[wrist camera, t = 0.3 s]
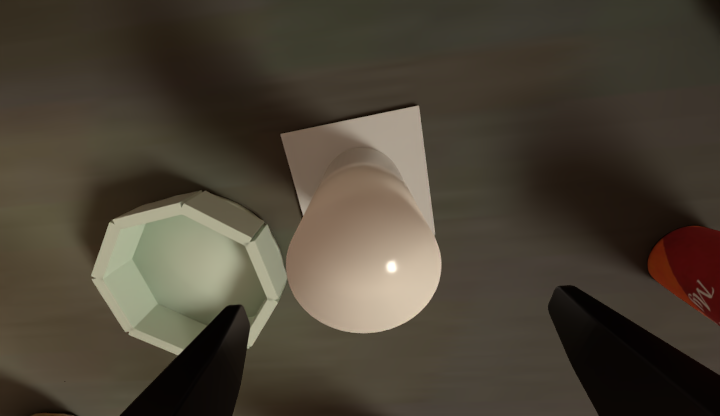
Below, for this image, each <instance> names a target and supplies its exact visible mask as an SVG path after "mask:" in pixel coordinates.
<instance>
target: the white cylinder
mask: <svg viewBox="0 0 720 416" xmlns="http://www.w3.org/2000/svg"><path fill="white" fill-rule="evenodd" d="M286 273H287V279H288V282H289V286H290V288H291V290H292V292H293V295H294V296H295V298H296V299H297V301H298V302H299V304H300V305H301V306H302V307H303V308H304V309H305V310H306V311H307V312H308V313H309V314H310V315H311V316H313V317H314V318H315V319H317V320H318V321H320V322H322V323H324V324H326V325H328V326H330V327H333V328H335V329H339V330H342V331H347V332H353V333H374V332H381V331H385V330H388V329H392V328H394V327H397V326H399V325H401V324H403V323H405V322H407V321H408V320H410V319H411V318H413V317H414V316H416V315H417V314H418V313H419V312H420V311H421V310H422V309H423V308H424V307H425V306H426V305H427V304H428V302H429V301H430V299H431V298H432V296H433V295H434V293H435V291H436V289H437V286H438V283H439V280H440V274H441V255H440V251H439V247H438V244H437V242H436V239H435V237H434V235H433V233H432V231H431V230H430V228H429V226H428V224H427V222H426V220H425V218H424V217H423V215H422V213H421V211H420V209H419V207H418V205H417V204H416V202H415V200H414V198H413V196H412V194H411V193H410V191H409V189H408V187H407V185H406V183H405V181H404V180H403V178H402V176H401V174H400V172H399V170H398V168H397V167H396V165H395V164H394V162H393V161H392V160H391V159H390V158H389V157H388V156H386V155H385V154H384V153H382V152H380V151H378V150H375V149H371V148H365V147H360V148H353V149H349V150H347V151H344V152H342V153H341V154H339V155H338V156H337V157H336V158H334V159H333V160H332V162H331V163H330V164H329V166H328V167H327V169H326V171H325V173H324V175H323V177H322V179H321V181H320V183H319V185H318V187H317V190H316V192H315V194H314V196H313V198H312V200H311V202H310V204H309V206H308V208H307V210H306V212H305V214H304V216H303V218H302V220H301V222H300V224H299V226H298V228H297V230H296V232H295V234H294V236H293V238H292V240H291V242H290V245H289V248H288V252H287V258H286Z"/></svg>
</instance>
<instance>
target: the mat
mask: <svg viewBox="0 0 720 416" xmlns="http://www.w3.org/2000/svg"><path fill="white" fill-rule="evenodd" d="M280 135H281V139H282V142H283V146H284V149H285V153H286V156H287V160H288V164H289V167H290V171H291V174H292V178H293V181H294V185H295V188H296V192H297V196H298V199H299V203H300V206H301V210H302V213H303V216H304V214H305V212H306V210H307V208H308V206H309V204H310V202H311V200H312V198H313V196H314V194H315V192H316V190H317V187H318V185H319V183H320V181H321V179H322V177H323V175H324V173H325V171H326V169H327V167H328V166H329V164H330V163H331V162H332V160H333V159H334V158H336V157H337V156H338V155H339V154H341V153H342V152H344V151H347V150H349V149H353V148H360V147H365V148H371V149H375V150H378V151H380V152H382V153H384V154H385V155H386V156H388V157H389V158H390V159H391V160H392V161H393V162H394V164H395V165H396V167H397V168H398V170H399V172H400V174H401V176H402V178H403V180H404V181H405V183H406V185H407V187H408V189H409V191H410V193H411V194H412V196H413V198H414V200H415V202H416V204H417V205H418V207H419V209H420V211H421V213H422V215H423V217H424V218H425V220H426V222H427V224H428V226H429V228H430V230H431V231H432V233H433V235H435V229H434V221H433V213H432V206H431V198H430V190H429V182H428V174H427V166H426V158H425V150H424V142H423V134H422V127H421V119H420V111H419V106H413V107H408V108H404V109H399V110H394V111H389V112H384V113H379V114H375V115H370V116H365V117H360V118H355V119H350V120H346V121H341V122H336V123H331V124H326V125H321V126H317V127H312V128H307V129H302V130H297V131H293V132H288V133H283V134H280Z"/></svg>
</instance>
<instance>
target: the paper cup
mask: <svg viewBox="0 0 720 416" xmlns="http://www.w3.org/2000/svg"><path fill="white" fill-rule="evenodd" d="M647 267H648V271H649V273H650V275H651V276H652V277H653V278H654V279H655V280H656V281H657V282H658V283H660V284H661V285H662V286H664V287H665V288H666V289H668V290H669V291H671V292H672V293H673V294H675V295H676V296H678V297H679V298H680V299H682V300H683V301H685V302H686V303H688V304H689V305H690V306H692V307H693V308H695V309H696V310H698V311H699V312H700V313H702V314H703V315H705V316H706V317H708V318H709V319H710V320H712V321H713V322H715V323H716V324H718V325H719V326H720V231H717V230H713V229H709V228H706V227H701V226H686V227H682V228H679V229H676V230H674V231H672V232H670V233H668V234H667V235H665V236H664V237H663V238H662V239H660V240H659V241H658V242H657V243H656V245H655V246H654V247H653V249H652V250H651V252H650V254H649V257H648V262H647Z"/></svg>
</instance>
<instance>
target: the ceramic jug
mask: <svg viewBox="0 0 720 416" xmlns="http://www.w3.org/2000/svg"><path fill="white" fill-rule="evenodd" d="M64 382H66V381H64ZM30 416H74V415H69V414H51V413H37V414H33V415H30Z"/></svg>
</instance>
